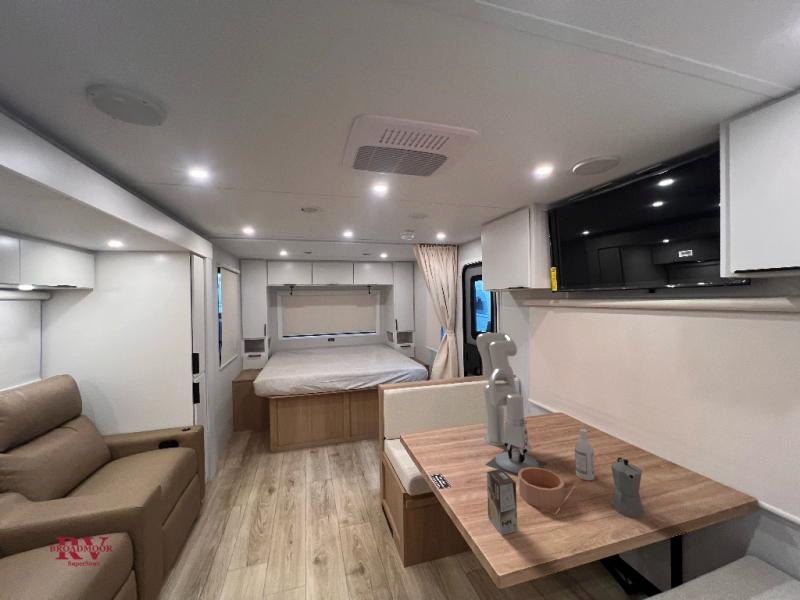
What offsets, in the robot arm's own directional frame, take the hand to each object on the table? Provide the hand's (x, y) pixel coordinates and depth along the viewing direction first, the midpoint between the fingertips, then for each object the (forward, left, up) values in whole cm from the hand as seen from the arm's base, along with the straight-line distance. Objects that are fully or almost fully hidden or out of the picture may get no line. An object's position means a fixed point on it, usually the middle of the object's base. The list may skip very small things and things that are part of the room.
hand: (516, 459), depth 144 cm
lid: (0, 0, -2) cm, 2 cm away
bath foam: (-10, +26, -3) cm, 28 cm away
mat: (0, 0, -2) cm, 2 cm away
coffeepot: (+3, +43, -3) cm, 43 cm away
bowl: (+17, +17, -2) cm, 24 cm away
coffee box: (+42, +13, -3) cm, 44 cm away
